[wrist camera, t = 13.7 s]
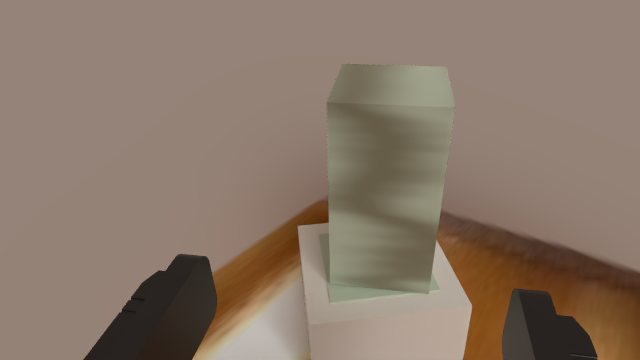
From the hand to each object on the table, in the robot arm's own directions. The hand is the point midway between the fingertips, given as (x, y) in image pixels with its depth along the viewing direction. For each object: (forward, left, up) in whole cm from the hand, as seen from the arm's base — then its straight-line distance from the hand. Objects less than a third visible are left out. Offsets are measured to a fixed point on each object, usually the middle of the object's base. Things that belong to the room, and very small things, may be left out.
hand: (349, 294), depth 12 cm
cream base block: (0, -11, -13) cm, 17 cm away
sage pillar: (0, -11, -8) cm, 13 cm away
